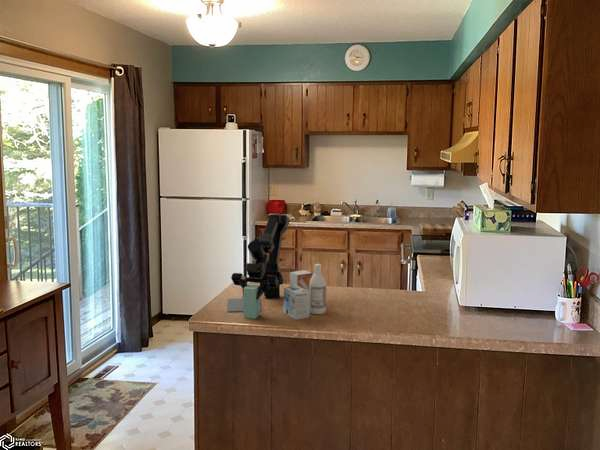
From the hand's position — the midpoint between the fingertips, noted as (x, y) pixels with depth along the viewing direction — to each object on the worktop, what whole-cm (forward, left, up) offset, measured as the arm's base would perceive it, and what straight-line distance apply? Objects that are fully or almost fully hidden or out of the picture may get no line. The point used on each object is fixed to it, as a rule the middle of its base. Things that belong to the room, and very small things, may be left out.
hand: (250, 298), depth 215 cm
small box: (-22, -20, -8) cm, 31 cm away
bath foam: (-27, -4, -8) cm, 29 cm away
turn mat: (+3, -16, -8) cm, 18 cm away
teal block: (0, -1, -8) cm, 8 cm away
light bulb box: (-18, -1, -8) cm, 20 cm away
